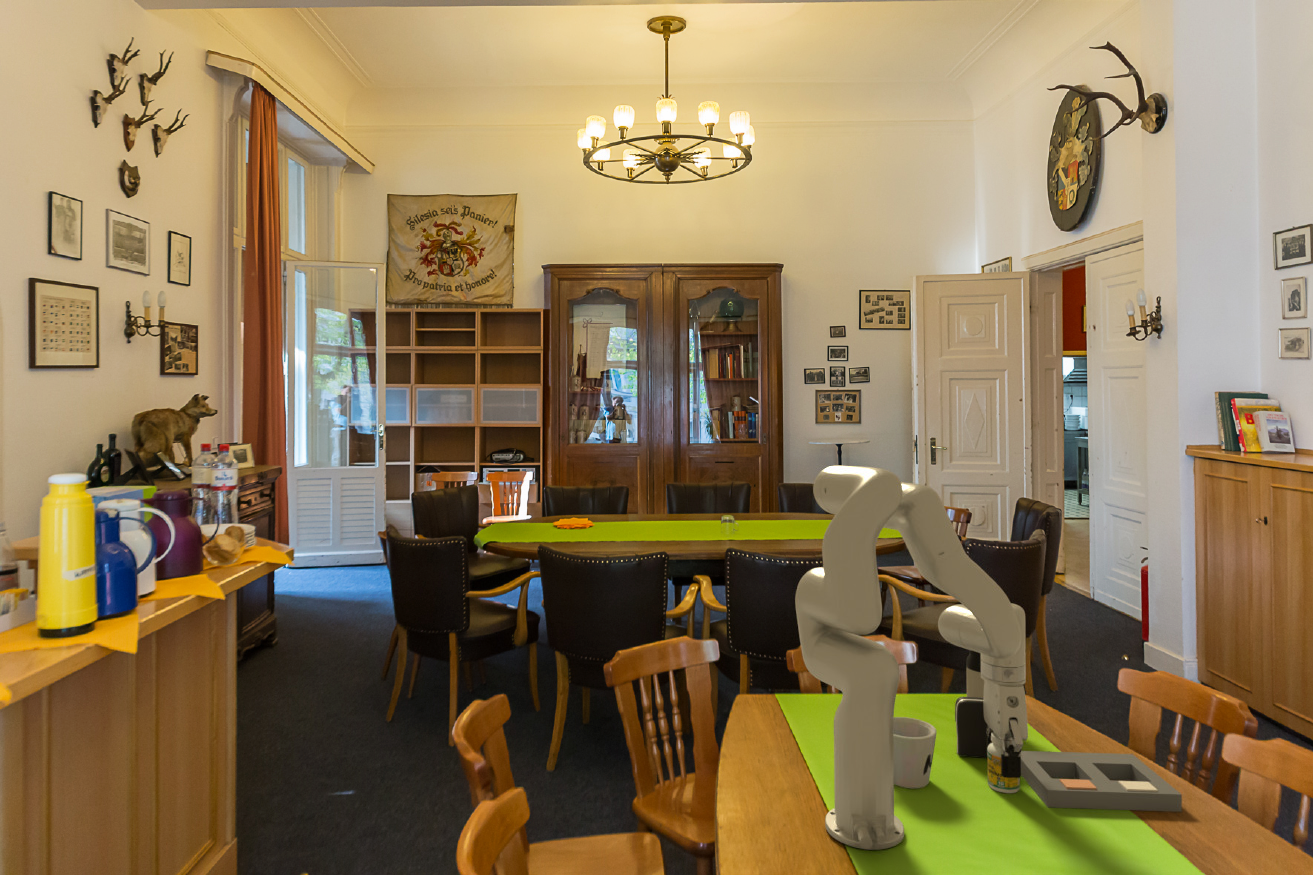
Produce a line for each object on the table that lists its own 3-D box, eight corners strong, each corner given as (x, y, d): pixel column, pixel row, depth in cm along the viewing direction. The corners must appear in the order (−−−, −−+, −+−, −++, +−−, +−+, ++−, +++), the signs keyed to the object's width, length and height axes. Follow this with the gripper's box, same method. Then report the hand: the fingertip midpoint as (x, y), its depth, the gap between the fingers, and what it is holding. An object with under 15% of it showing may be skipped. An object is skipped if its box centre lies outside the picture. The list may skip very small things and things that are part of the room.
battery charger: (989, 751, 155) (989, 695, 155) (994, 759, 151) (994, 702, 151) (953, 748, 156) (953, 693, 156) (957, 756, 153) (957, 700, 153)
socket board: (1181, 811, 130) (1181, 792, 130) (1047, 807, 132) (1047, 788, 132) (1132, 769, 146) (1132, 752, 146) (1013, 765, 148) (1013, 749, 148)
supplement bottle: (1026, 791, 138) (1026, 739, 138) (1002, 796, 137) (1001, 743, 136) (1004, 778, 143) (1004, 727, 143) (981, 782, 142) (980, 731, 142)
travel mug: (958, 724, 169) (958, 643, 169) (984, 718, 172) (984, 639, 172) (988, 737, 162) (987, 653, 162) (1014, 730, 165) (1014, 648, 165)
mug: (941, 795, 137) (941, 740, 137) (856, 788, 140) (855, 734, 140) (932, 769, 147) (932, 718, 147) (853, 763, 150) (852, 713, 150)
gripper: (1043, 687, 131) (1044, 790, 131) (1007, 657, 148) (1007, 747, 148) (998, 687, 131) (998, 789, 132) (967, 656, 149) (967, 746, 149)
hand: (1003, 766), depth 140 cm, fingers open, 6 cm apart
